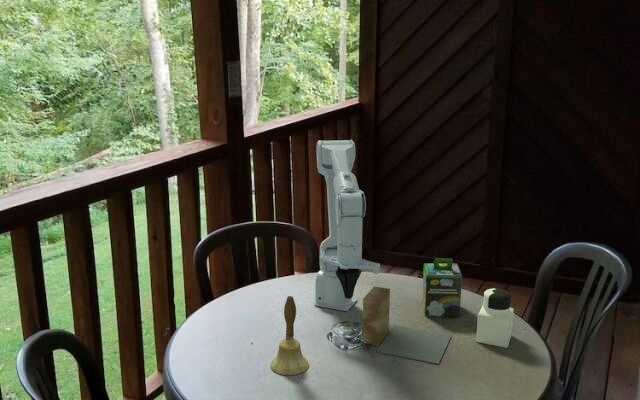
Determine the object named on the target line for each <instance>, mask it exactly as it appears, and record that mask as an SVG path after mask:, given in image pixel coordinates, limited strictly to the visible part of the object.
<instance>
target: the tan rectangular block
mask: <svg viewBox="0 0 640 400" xmlns="http://www.w3.org/2000/svg"><path fill="white" fill-rule="evenodd" d="M390 300H391V288H388V287H387V288H386V287H381V286H373V287H372V288H371V289H370V290H369V292H367V294H366V295H365V296H364V297H363V298H362V332H361V333H362V337H361V339H362V340H364V342H366V343H365V344H368V345H372V346H373V345H374V346H378V347H380V345H381V344H382V342H383V341H384V339H385V338H386V337H387V335H388V334H389V332H390V305H391V301H390ZM362 340H361V341H362Z"/></svg>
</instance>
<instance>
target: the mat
mask: <svg viewBox="0 0 640 400" xmlns="http://www.w3.org/2000/svg"><path fill="white" fill-rule="evenodd" d="M451 338H452V335H450V334H444V333H439V332H433V331H428V330H425V329H424V330H422V329H418V328H413V327H406V326H401V325H396V324H394V325H393V326H392V328H391V329H390V330H389V331H388V333H387V334H386V336H385V337H384V339H383V340H382V342H381V343H380V345H379V346H378V348H377V350H376V352H377V353H380V354H386V355H389V356H395V357H399V358H404V359H409V360H414V361H419V362H424V363H428V364H434V365H437V366H439V365H440V362H441V360H442V358H443V356H444V353H445V351H446V350H447V347H448V344H449V343H450V340H451Z"/></svg>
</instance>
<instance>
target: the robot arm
mask: <svg viewBox="0 0 640 400" xmlns="http://www.w3.org/2000/svg"><path fill="white" fill-rule="evenodd" d="M315 151H316V155H315V156H316V168H317V172H318V173H319V174H321V175H322V176H324V179H325V183H326V194H327V195H326V196H327V214H328V216H327V217H328V229H329V230H328V231H329V232H328V233H329V236H327V238H325V239H324V240H323V241H322V242H321V243H320V245H319V269H320V270H318V272H317V274H316V277H315V285H314V286H315V293H314V294H315V300H314V301H315V303H313V305H314V306H316V307H320V308H321V307H322V308H327V309H332V310H337V311H338V310H339V311H342V312H343V311H344V312H348V311H349V310H350V309H351V308H352V307H353V306H354V305H355V303H356V302H357V301H358V299H357V298H356V297H354V292H355V288H356V284H357V283H358V281H359V278H360V276H361V274H362V272H368V273H373V274H374V275H378V274H379V273H380V272H381V263H379V262H373V261H369V260H367V259H364V258H363V257H362V256H363V253H362V252H363V248H362V247H363V218H364V217H365V215H366V209H367V204H366V203H367V202H366V195H365V192H364V191H362V189H360V188H359V184H358V180H357V177H356V176H355V174H354V173H353V172H352V169H353V168H354V163H355V159H356V145H355V142H354V141H353V140H352V139H349V140H347V139H346V140H345V139H344V140H343V139H342V140H338V139H337V140H322V139H321V140H320V139H318V141H317V143H316V150H315Z"/></svg>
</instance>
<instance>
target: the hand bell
mask: <svg viewBox="0 0 640 400" xmlns="http://www.w3.org/2000/svg"><path fill="white" fill-rule="evenodd" d="M283 317H284V321H285V325H286V330H285V338H284V339H281V341H280V342H279V344H278V351H277V354H276V357H274V358H273V359H272V360H271V362H270V369H271V370H272V371H273V372H274V373H276V374H278V375H282V376H283V375H284V376H296V375H300V374H303V373H304V372H306V371H308V369H309V367H310V363H309V361H308V360H307V358H306V357H305V356H304V354H303V353H302V349H301V343H300V341H299V340H298V339H296V338H295V337H294V336H295V332H294V331H295V330H294V328H295V327H294V325H295V321H296V317H297V306H296V303H295V299H294V296H292V295H287V297H286V301H285V303H284V308H283Z"/></svg>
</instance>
